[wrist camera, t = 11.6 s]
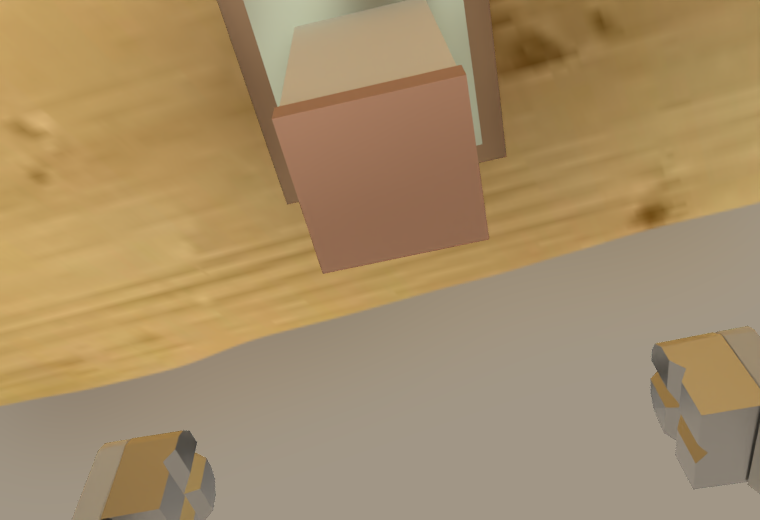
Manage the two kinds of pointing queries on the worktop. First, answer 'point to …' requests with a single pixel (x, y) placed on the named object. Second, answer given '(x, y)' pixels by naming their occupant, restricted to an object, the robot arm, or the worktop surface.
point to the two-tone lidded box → (380, 137)
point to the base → (316, 3)
